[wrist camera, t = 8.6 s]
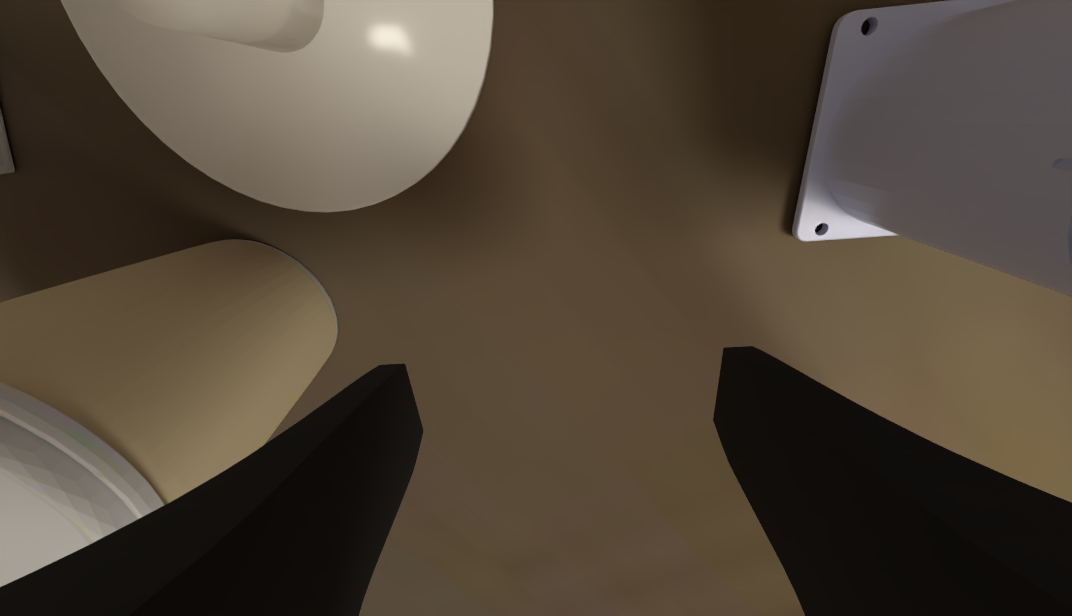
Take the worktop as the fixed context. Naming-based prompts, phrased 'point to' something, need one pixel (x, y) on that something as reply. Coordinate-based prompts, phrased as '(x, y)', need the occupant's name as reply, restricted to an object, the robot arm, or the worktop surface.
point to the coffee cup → (146, 388)
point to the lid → (297, 88)
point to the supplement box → (5, 150)
